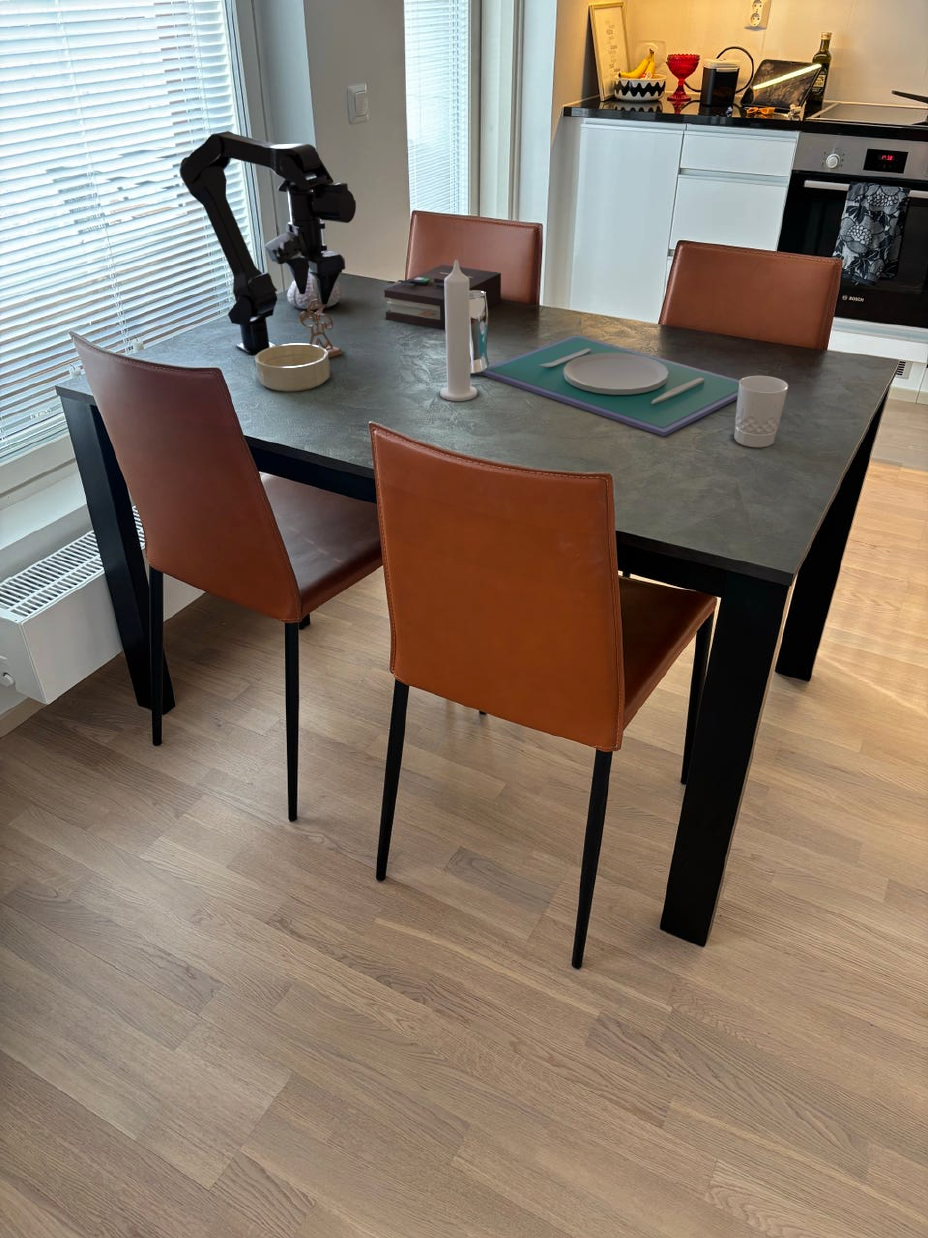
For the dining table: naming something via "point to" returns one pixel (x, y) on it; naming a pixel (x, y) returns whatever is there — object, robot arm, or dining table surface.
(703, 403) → the place mat
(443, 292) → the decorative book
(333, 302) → the sea urchin shell
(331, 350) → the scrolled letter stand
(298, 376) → the bowl
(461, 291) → the candle
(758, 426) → the white cup
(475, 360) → the beer glass
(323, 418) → the dining table surface
